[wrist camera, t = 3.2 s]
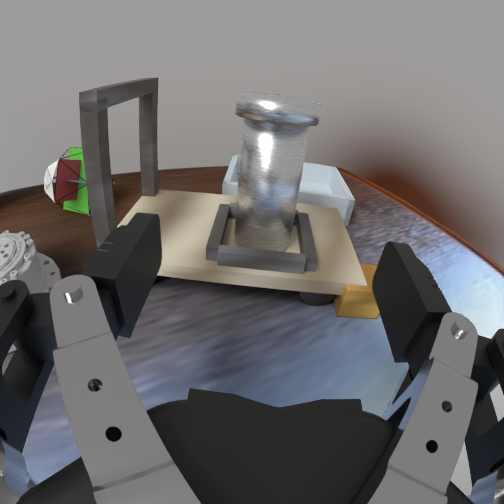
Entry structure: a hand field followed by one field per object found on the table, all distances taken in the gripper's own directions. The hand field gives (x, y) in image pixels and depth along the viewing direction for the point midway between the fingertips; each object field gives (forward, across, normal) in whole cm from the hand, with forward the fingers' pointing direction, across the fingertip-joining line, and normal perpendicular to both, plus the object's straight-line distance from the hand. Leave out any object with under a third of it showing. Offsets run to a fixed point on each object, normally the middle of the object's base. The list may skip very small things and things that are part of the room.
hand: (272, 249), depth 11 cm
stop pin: (+10, 0, +6) cm, 12 cm away
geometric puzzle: (+17, +19, +9) cm, 27 cm away
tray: (+24, -2, +8) cm, 25 cm away
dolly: (+12, +2, +8) cm, 14 cm away
